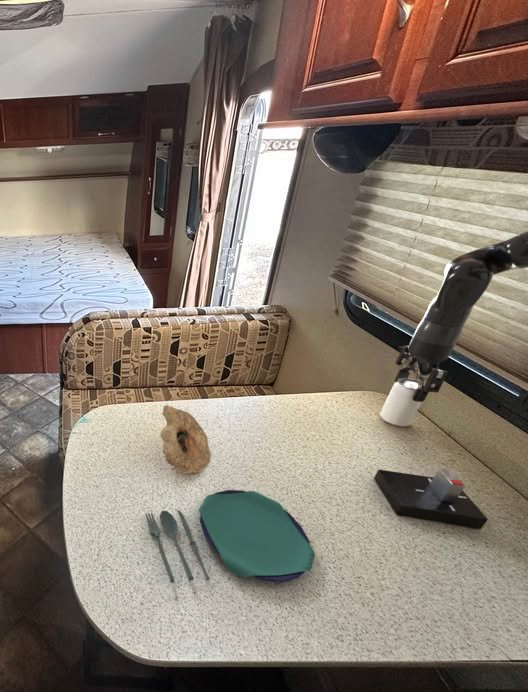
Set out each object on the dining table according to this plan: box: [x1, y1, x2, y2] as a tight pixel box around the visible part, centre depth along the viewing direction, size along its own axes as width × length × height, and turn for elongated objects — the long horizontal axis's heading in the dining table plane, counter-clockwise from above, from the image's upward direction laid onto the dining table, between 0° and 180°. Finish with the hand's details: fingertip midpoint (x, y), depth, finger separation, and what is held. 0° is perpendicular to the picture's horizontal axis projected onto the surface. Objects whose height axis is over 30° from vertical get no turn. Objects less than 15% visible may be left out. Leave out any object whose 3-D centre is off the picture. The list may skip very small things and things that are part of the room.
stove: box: [373, 468, 489, 530], centre depth 79 cm, size 14×10×3 cm
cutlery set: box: [145, 489, 316, 583], centre depth 74 cm, size 20×30×2 cm, turn 93°
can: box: [379, 378, 422, 428], centre depth 100 cm, size 6×6×12 cm
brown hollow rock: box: [160, 404, 211, 475], centre depth 96 cm, size 18×14×8 cm
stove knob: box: [429, 468, 466, 503], centre depth 77 cm, size 4×2×5 cm, turn 164°
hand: (407, 391), depth 99 cm, fingers open, 8 cm apart
